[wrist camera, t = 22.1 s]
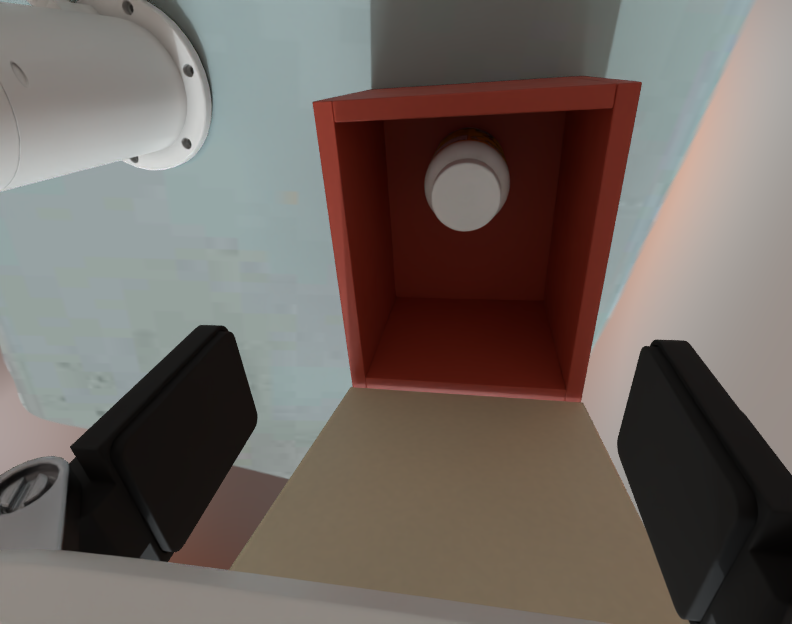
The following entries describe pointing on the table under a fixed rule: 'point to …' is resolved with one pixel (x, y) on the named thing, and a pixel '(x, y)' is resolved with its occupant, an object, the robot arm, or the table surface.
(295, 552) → the lid
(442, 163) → the supplement bottle
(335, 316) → the table surface
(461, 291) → the red open box
